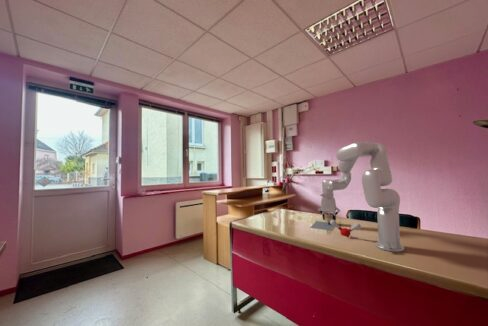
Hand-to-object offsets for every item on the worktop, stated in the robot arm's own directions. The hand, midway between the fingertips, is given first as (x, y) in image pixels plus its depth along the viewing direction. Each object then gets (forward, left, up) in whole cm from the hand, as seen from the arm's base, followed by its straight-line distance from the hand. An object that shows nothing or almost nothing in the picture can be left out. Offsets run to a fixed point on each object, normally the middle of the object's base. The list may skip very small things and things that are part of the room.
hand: (329, 220), depth 151 cm
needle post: (0, 0, -3) cm, 3 cm away
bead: (0, 0, 0) cm, 0 cm away
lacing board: (-5, +3, -5) cm, 7 cm away
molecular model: (-20, -13, -5) cm, 24 cm away
